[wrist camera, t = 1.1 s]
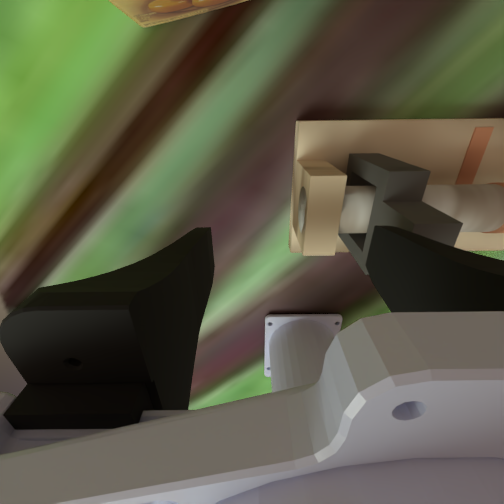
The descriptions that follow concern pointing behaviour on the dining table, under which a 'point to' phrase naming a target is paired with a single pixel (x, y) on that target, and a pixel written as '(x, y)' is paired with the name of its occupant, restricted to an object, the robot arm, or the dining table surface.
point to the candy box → (167, 9)
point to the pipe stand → (407, 150)
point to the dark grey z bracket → (395, 202)
